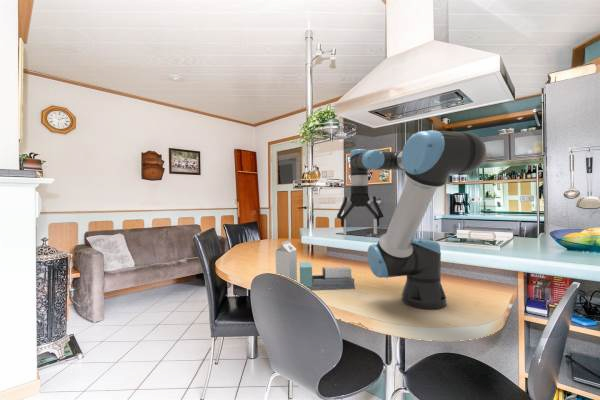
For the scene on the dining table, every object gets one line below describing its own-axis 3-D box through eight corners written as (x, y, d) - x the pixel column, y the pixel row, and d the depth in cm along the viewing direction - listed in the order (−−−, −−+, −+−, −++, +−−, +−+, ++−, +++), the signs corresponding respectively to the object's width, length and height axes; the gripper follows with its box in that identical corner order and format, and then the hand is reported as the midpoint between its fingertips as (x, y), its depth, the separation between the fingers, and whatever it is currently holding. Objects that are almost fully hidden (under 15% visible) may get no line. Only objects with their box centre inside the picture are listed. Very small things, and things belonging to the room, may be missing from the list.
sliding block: (351, 283, 128) (351, 269, 128) (323, 284, 128) (323, 269, 128) (349, 280, 133) (349, 266, 133) (322, 281, 132) (322, 267, 132)
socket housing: (312, 286, 126) (312, 267, 125) (300, 286, 125) (300, 267, 125) (311, 280, 135) (310, 262, 134) (299, 280, 134) (299, 262, 134)
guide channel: (354, 288, 126) (354, 279, 126) (300, 290, 126) (300, 280, 125) (350, 282, 135) (350, 273, 135) (300, 283, 135) (299, 275, 134)
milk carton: (276, 283, 135) (275, 242, 135) (284, 279, 142) (283, 239, 141) (289, 285, 132) (288, 243, 132) (297, 281, 138) (296, 240, 138)
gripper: (384, 185, 134) (385, 232, 134) (329, 186, 134) (330, 233, 134) (390, 184, 127) (391, 234, 127) (332, 185, 126) (332, 235, 126)
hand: (360, 234), depth 130 cm, fingers open, 13 cm apart
